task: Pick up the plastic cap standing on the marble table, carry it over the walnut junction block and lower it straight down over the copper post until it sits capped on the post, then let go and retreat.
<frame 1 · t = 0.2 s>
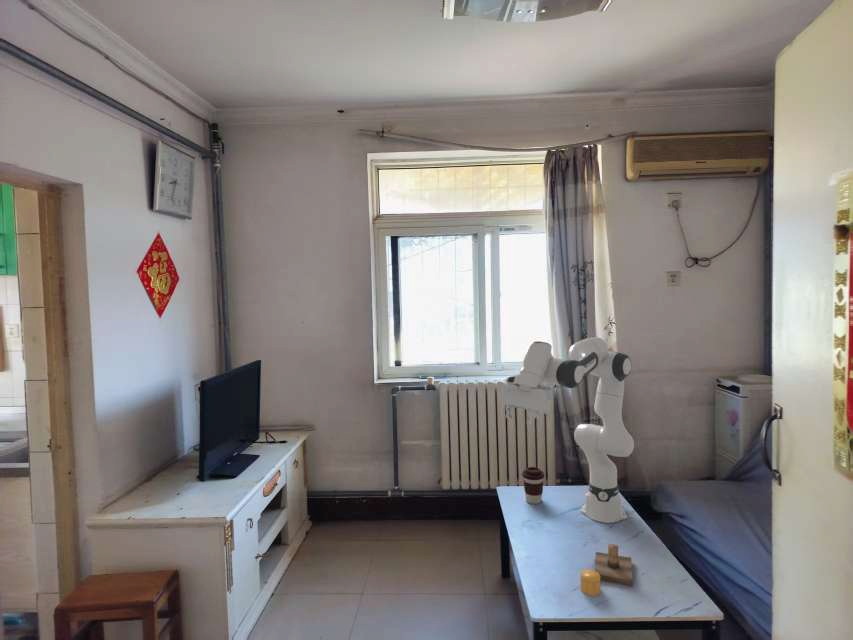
hand: (518, 420, 167), 54 cm above the table, tool tilted 30°, fingers open, 8 cm apart
cap: (590, 589, 158), on the table
junction block: (613, 570, 167), on the table
coffee cup: (533, 501, 223), on the table
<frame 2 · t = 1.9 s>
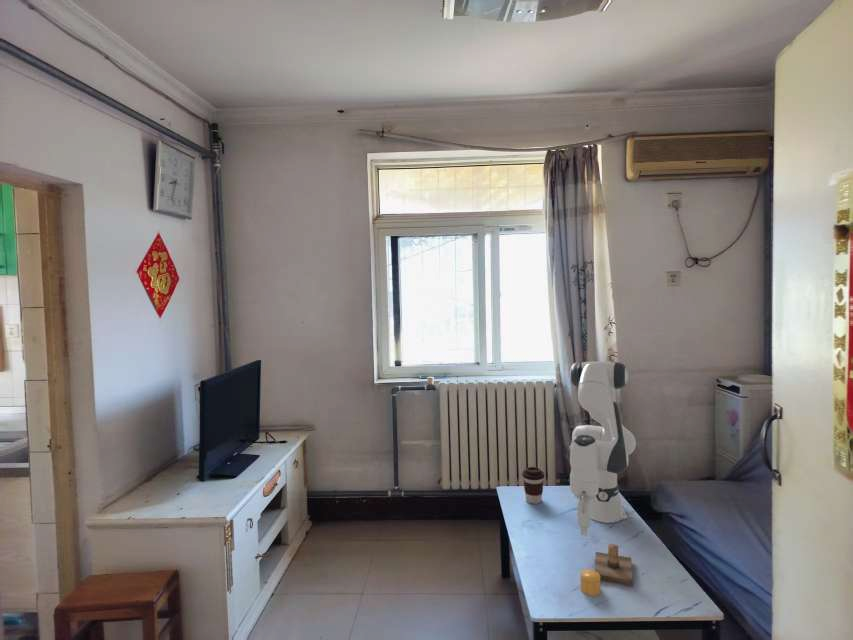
hand: (584, 527, 156), 21 cm above the table, tool pointing down, fingers open, 8 cm apart
nothing on the table moved.
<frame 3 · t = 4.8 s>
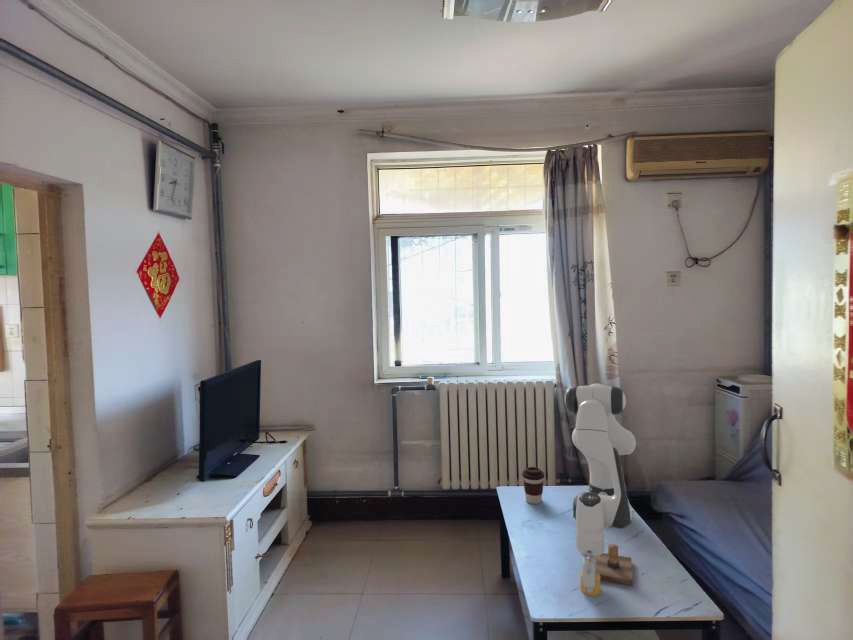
hand: (590, 583, 158), 2 cm above the table, tool pointing down, fingers closed on cap, 6 cm apart
cap: (590, 589, 158), on the table, touching gripper
everything else where it was.
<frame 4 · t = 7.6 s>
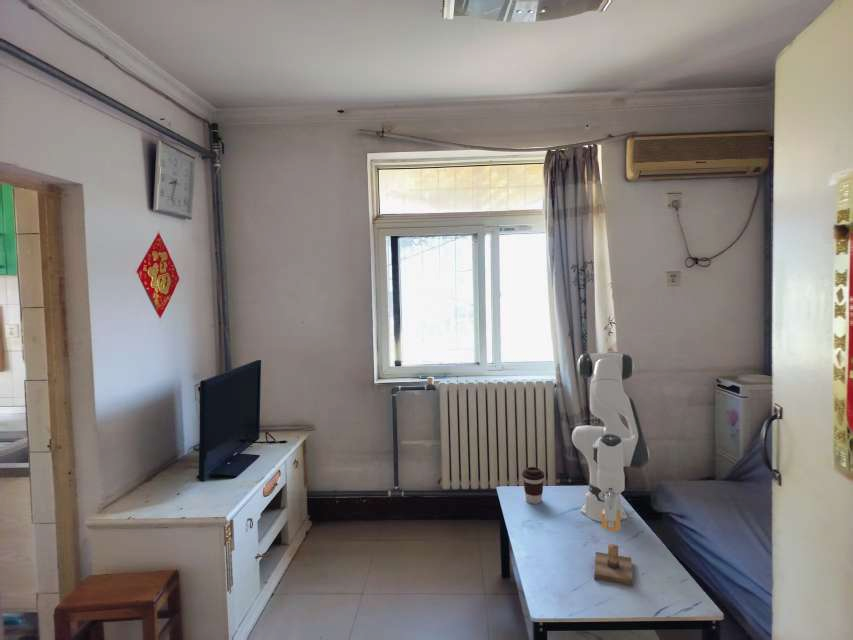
hand: (611, 521, 166), 18 cm above the table, tool pointing down, fingers closed on cap, 6 cm apart
cap: (611, 526, 166), point 16 cm above the table, touching gripper
everything else where it was.
when the fingers open (7 cm above the table, at t = 10.6 s): cap stays where it is, resting on junction block.
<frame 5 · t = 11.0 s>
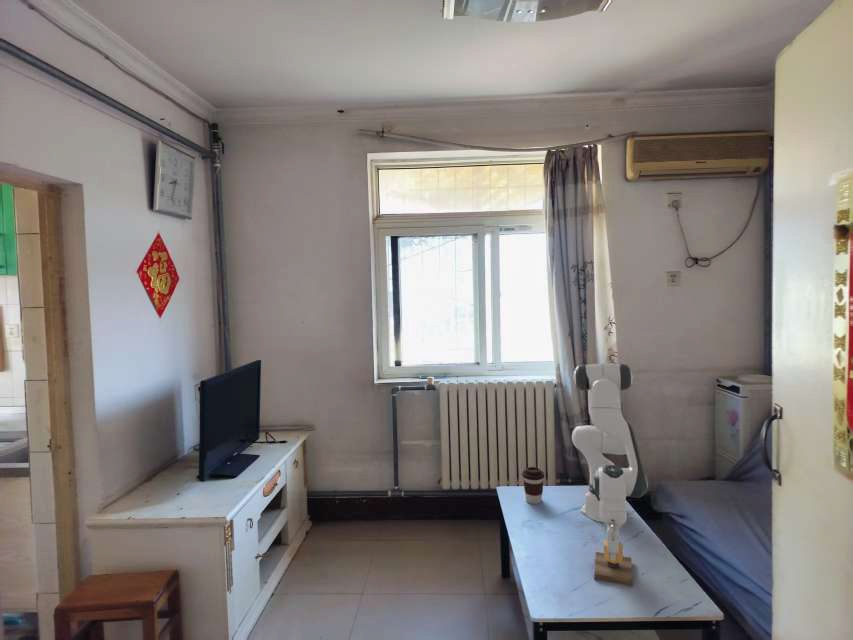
hand: (613, 551, 167), 7 cm above the table, tool pointing down, fingers open, 8 cm apart
cap: (613, 557, 167), point 5 cm above the table, touching junction block
everything else where it was.
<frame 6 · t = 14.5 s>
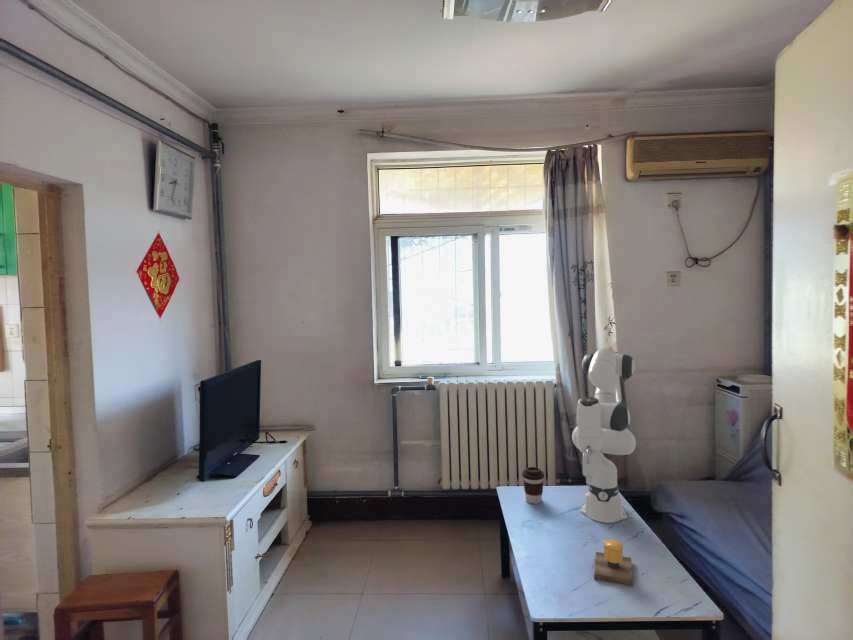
hand: (589, 478, 175), 29 cm above the table, tool pointing down, fingers open, 8 cm apart
nothing on the table moved.
at the end: cap 0.0 cm off-centre on the junction block, point 4.8 cm above the junction block's base; cap tilted 0°; the gripper is holding nothing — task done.
